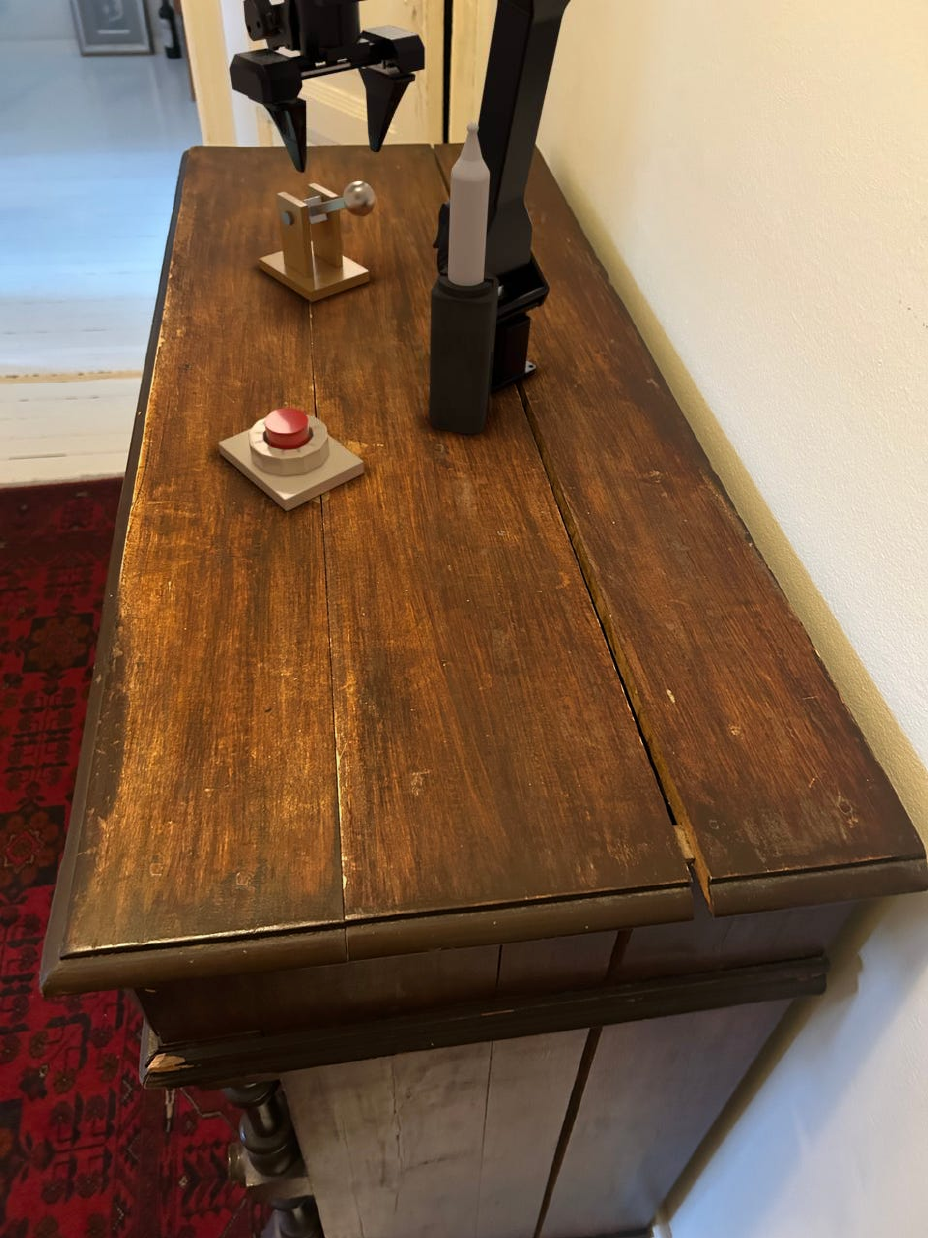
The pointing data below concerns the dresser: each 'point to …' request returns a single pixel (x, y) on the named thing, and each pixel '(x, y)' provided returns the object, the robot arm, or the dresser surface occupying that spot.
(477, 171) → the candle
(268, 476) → the button block
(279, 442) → the button
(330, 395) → the dresser surface
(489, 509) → the dresser surface
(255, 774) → the dresser surface
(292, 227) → the tap bracket
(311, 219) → the tap lever
